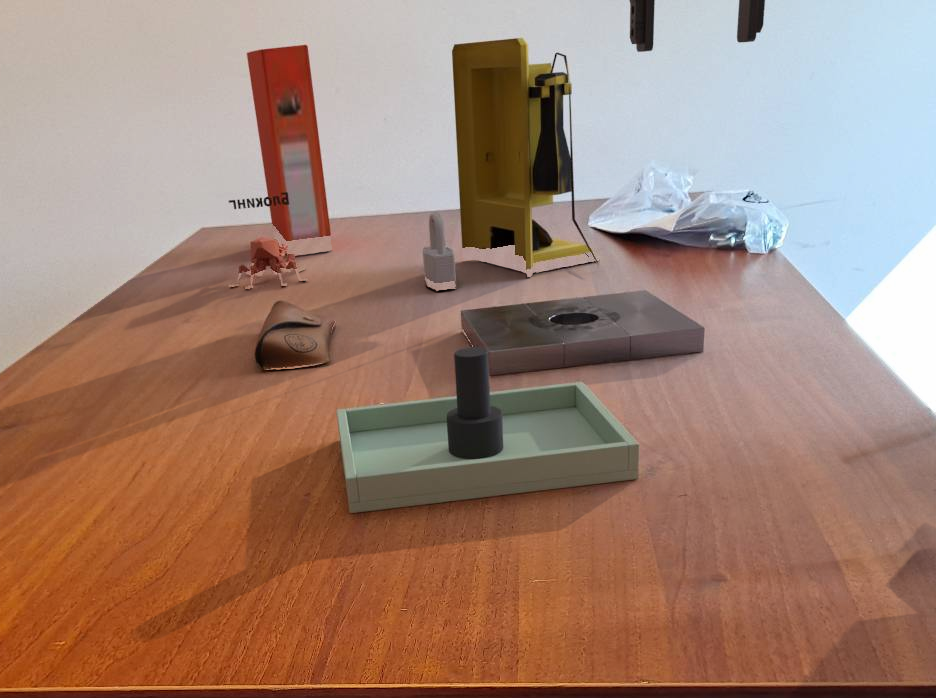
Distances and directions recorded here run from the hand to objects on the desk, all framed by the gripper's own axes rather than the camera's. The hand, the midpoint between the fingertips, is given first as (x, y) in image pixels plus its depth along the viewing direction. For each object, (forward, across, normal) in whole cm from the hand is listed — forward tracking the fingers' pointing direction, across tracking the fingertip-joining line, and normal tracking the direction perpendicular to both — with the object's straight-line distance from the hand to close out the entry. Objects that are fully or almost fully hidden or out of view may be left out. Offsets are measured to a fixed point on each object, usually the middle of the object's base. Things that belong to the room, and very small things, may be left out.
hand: (695, 46), depth 80 cm
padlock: (+28, -16, +50) cm, 60 cm away
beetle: (+28, -40, +68) cm, 84 cm away
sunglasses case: (+28, -36, +26) cm, 53 cm away
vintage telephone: (+28, 0, +59) cm, 65 cm away
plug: (+27, -22, -14) cm, 38 cm away
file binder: (+28, -35, +94) cm, 104 cm away
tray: (+28, -22, -14) cm, 38 cm away
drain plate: (+28, -6, +16) cm, 33 cm away
